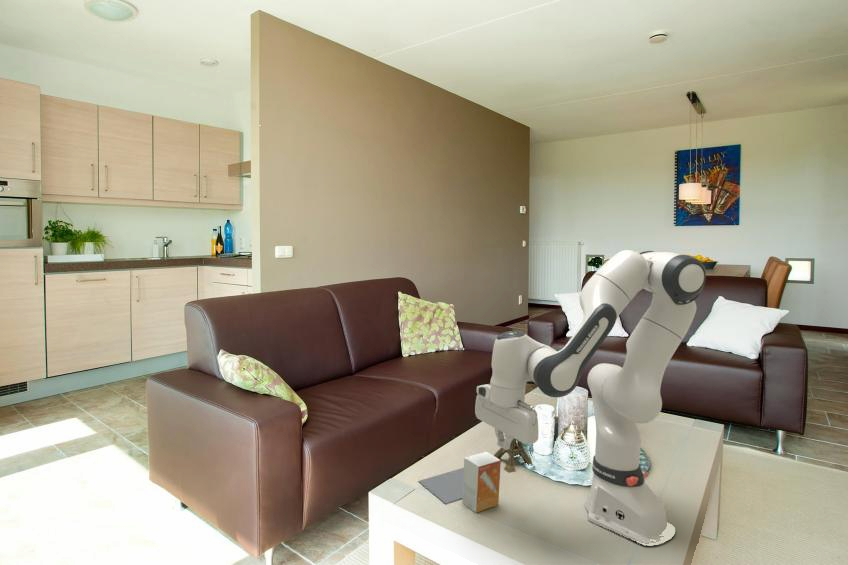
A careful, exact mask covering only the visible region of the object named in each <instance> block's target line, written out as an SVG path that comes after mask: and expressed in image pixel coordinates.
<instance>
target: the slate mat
mask: <svg viewBox="0 0 848 565" xmlns="http://www.w3.org/2000/svg"><path fill="white" fill-rule="evenodd" d="M463 475H464V467H462V468H457V469H454V470H451V471H448V472H445V473H441V474H437V475H433V476H430V477H427V478H424V479H421V480H418V481H417V482H418V483H419V484H420V485H422V487H424V488H425V489H427V491H428V492H430V493H431V494H432V495H433V496H435V497H436V498H437V499H438V500H439V501H440V502H442V503H443V504H444V505H449V504H451V503H454V502H457V501H462V496H463Z"/></svg>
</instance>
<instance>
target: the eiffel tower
mask: <svg viewBox="0 0 848 565" xmlns="http://www.w3.org/2000/svg"><path fill="white" fill-rule="evenodd" d="M525 449H526V447H524V444H523V443H522V442H520V441H518V440H516V439H514V438H513V440H512V441H511V442H510V449H508V450H505V449H503V448H501V447H500V448H499V449H498V450H497V451H496V452H495V453H494V454H493V456H495V457H496V458H498V459H500V460H501V461H502V457H503V456H504V455H505V454H506V453H507V455H508V456H509V457H508V459H507V462H506V464H505V466H504V467H503V470H505V472H507V473H508V474H510V473H514V472H517V470H516V468H515V460H514V459H515V458H514V456H516V455H518V454H519V455H520V456H521V458H522V461H523V463H527V464H528V465H529V464H532V463H533V461H532V459H531V458H530V457H529V455H528V453H527V452H526V451H525Z"/></svg>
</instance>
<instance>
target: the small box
mask: <svg viewBox="0 0 848 565" xmlns="http://www.w3.org/2000/svg"><path fill="white" fill-rule="evenodd" d="M501 463H502V462H501V460H500V459H498V458H496V457H495V456H494V454H491V453H490V452H488V451H483V452H480V453H475V454H472V455H469V456H466V457H463V468H464V475H463V496H462V499H461V502H462V503H463V504H464V505H465V506H466V507H467V508H469V509H470V510H471V511H473V512H474V513H479V512H482V511H485V510H487V509H490V508H494V507H495V506H499V498H500V480H501V466H502V465H501Z"/></svg>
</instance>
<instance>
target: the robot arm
mask: <svg viewBox="0 0 848 565" xmlns="http://www.w3.org/2000/svg"><path fill="white" fill-rule="evenodd" d="M706 278H707V270H706V267H705V265H704V264H703V263H702V261H700V260H699V259H698V258H696V257H694V256H690V255H688V254H680V253H677V252H672V251H653V250H646V251H641V252H637V251H635V250H631V249H623V250H621V251H619V252H617V253H616V254H615V255H614V256H612V257H611V258H609V259H608V260H607V261H606V262H604V264H602V265H601V266H600V268H598V270H597V271H596V272H595V273H594V274H593V275H592V276H591V277H590V278H589V279H588V280H587V281H586V283H585V284H584V286H583V287H582V289H581V291H580V293H579V304H580V307H581V310H582V311H583V313H582V314H583V318H582V322H581V324H580V326H578V328H577V329H576V331H575V332H574V333H573V335H572V336H571V337H570V338H569V340H568V342H566V344H565V345H564V346H563V347H562V349H560V350H558V351H557V350H556V349H555V348H553V347H551V346H550V345H547V344H544V343H541V342H539V341H537V340H535V339H533V338H531V337H530V336H529V335H527V333H525V331H524V332H523V331H520V330H510V331H505V332H502V333H500V334H498V335H497V336H496V338H495V341H494V342H493V343H494V344H493V348H492V355H491V368H492V370H491V371H492V374H491V378H490V382H489V383H488V384H481V385H477V386H476V394H477V395H476V397H475V403H474V404H475V406H474V413H475V414H474V415H475V416H476V419H478V420H480V421H481V422H483V423H485V424H487V425H488V426H491V427H492V428H493V429H494V434H495V437H496V439H497V440H496V443H497V444H496V445H497V446H498V447H500V448H503V449H505V450H508V449H510V443H511V441H512V440H513V438H514V439H516V441H517V440H518V441H520V442H522V444H523V445H527V446H528V445H533V444H535V443H537V442H538V441H539V417H538V413H537V411H536V409H535V408H534V406H533V405H531V404H528V403H526V401H525V399H526V386H527V383H528V382H534V384H535V385H536V386H537V387H538V389H539V390H540V391H541V392H542V393H543V394H544V395H546V396H548V397H550V398H562V397H566V396H568V395H570V393H572V392H573V391H574V390H576V387H577V386H578V384H579V382H580V379H581V376H582V373H583V371H584V369H585V367H586V366H587V364H588V363H589V361H590V360H591V358H592V357H593V356H594V355H595V353H596V352H597V351H598V350H599V349H600V347H601V346H602V344H603V343H604V341H605V340H606V338H607V337H608V336H609V334H610V333H611V331H612V330H613V328H614V327H615V324H616V322H617V320H618V318H619V316H620V315H621V313H622V312H623V310H624V309H625V308H626V307H627V306H628V304H629V303H630V302H631V301H632V300H633V299H634V298H635V297H636V296H637V294H638V293H639V292H640V291H642V290H643V291H644V290H645V291H647V292H650V293H652V298H651V303H650V305H649V307H648V308H647V309H646V311H645V313H644V314H643V315H642V317H641V318H640V320H639V322H638V323H637V324H636V325H635V328H634V329H633V331H632V332H631V334H630V336H629V337H628V339H627V341H626V343H625V346H626V356H625V360H624V363H623V366H620V365H617V364H612V363H607V362H606V363H602V362H601V363H598V364H596V365H595V366H593V367H591V369H590V370H589V372H588V375H587V378H586V379H587V381H586V382H587V386H588V388H589V390H590V394H591V398H592V407H593V413H594V420H595V432H596V435H595V451H594V452H595V453H594V456H593V459H592V473H593V474H592V480H591V481H592V482H591V484H590V490H589V494H588V497H587V500H586V501H585V505H584V506H585V509H586V512H587V513H588V514H587V515H588V516H587V519H588V521H590V522H592V523H593V524H595V525H598V526H600V527H601V526H602V528H604V529H606V528H607V529H606V530H608V529H609V530H608V531H610V530H612V531H614V532H616V533H618V534H621V535H623V536H625V537H628V538H630V539H633V540H635V541H639V542H641V543H645V544H649V543H656V542H659V541H661V540H660V538H661V537H664V536H659V535H661V534H662V532H663V531H664V530H665V529H666V527H667V521H668V519H667V518H668V517H667V512H666V507H665V505H664V503H663V502H662V501H661V500H660V498H659V497H658V496H657V495H656V494H655V493H654V491H653V490H652V489H651V488H650V487H649V485H648V484H647V483H646V481H645V478H647V477H648V476H649V472H648V471H646V472H643V470H642V467H641V464H640V459H641V458H640V456H641V445H642V444H641V443H642V436H641V433H640V431H639V429H638V426H637V425H638V424H640V425H641V424H643V425H644V424H648V423H651V422H653V421H654V420H656V418H658V416H659V415H660V413H661V411H662V408H663V399H662V395H661V386H662V381H663V378H664V375H665V374H664V373H665V371H666V368H667V367H668V365H669V362H670V360H671V359H672V357H673V356H674V354H675V352H676V351H677V349H678V347H679V346H680V345H681V343H682V342H683V339H684V338H685V336H686V334H687V332H688V331H689V329H690V328H691V325H692V323H693V320H694V319H695V315H696V312H697V308H698V307H697V304H696V303H697V302H696V301H695V300H697V298H698V297H699V296H700V293H701V292H702V290H703V288H704V286H705V283H706ZM518 441H517V442H518ZM612 531H611V532H612ZM614 532H613V533H614ZM616 533H615V534H616ZM618 534H617V535H618ZM621 535H620V536H621ZM623 536H622V537H623ZM625 537H624V538H625ZM650 539H652V540H653V539H654V540H656V542H654V541H650Z"/></svg>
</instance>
